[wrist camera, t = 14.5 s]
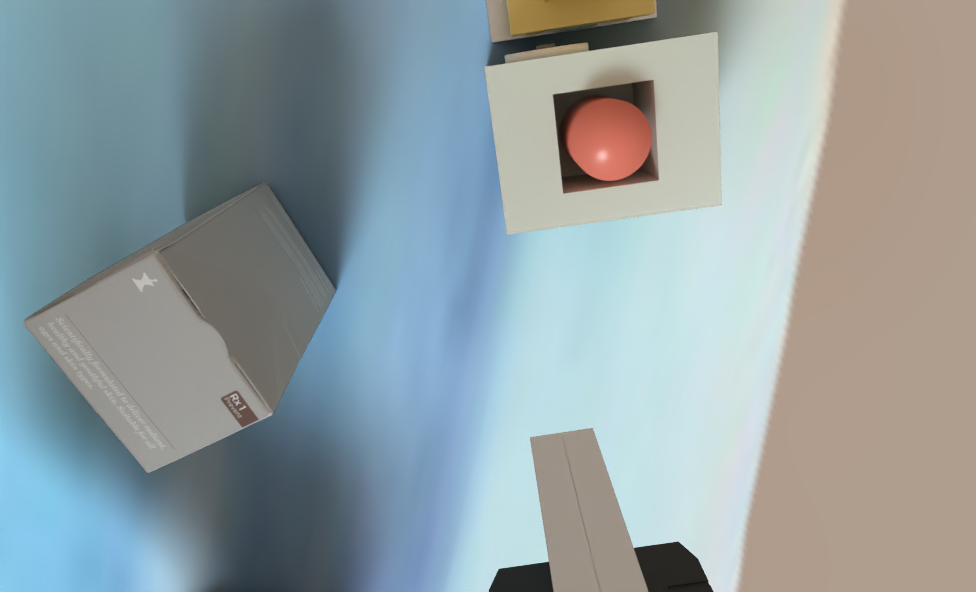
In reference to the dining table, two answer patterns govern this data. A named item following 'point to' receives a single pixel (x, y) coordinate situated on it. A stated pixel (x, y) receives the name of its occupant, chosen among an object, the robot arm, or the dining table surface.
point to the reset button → (606, 137)
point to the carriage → (571, 13)
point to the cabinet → (619, 75)
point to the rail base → (502, 33)
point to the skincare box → (192, 328)
